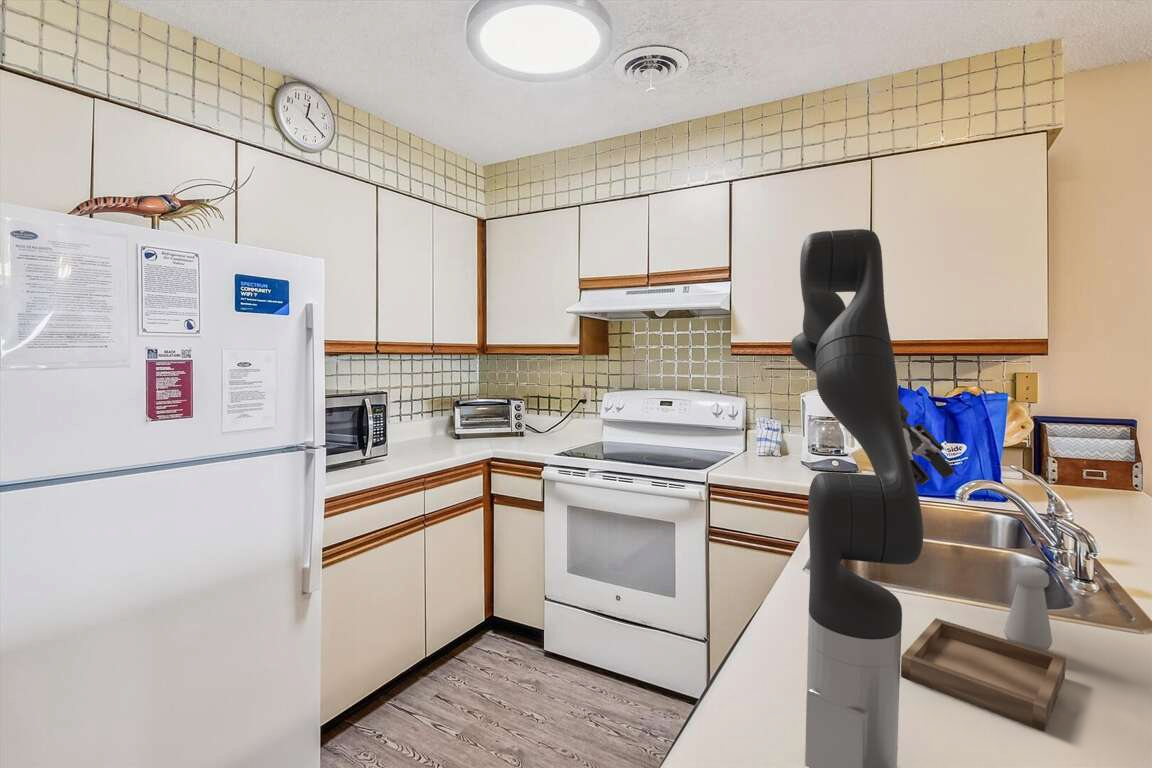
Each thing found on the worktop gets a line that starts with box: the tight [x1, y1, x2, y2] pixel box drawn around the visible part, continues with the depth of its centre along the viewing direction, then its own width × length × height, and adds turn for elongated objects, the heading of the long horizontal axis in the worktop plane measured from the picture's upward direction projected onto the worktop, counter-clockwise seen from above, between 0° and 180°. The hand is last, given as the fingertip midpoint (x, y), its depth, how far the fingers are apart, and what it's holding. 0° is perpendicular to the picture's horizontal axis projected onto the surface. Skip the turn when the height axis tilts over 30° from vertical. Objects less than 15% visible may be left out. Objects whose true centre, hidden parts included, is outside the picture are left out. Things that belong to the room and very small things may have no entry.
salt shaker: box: [1003, 564, 1053, 652], centre depth 87 cm, size 6×6×13 cm
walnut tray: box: [900, 617, 1066, 732], centre depth 81 cm, size 16×16×3 cm
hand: (937, 478), depth 97 cm, fingers open, 8 cm apart
